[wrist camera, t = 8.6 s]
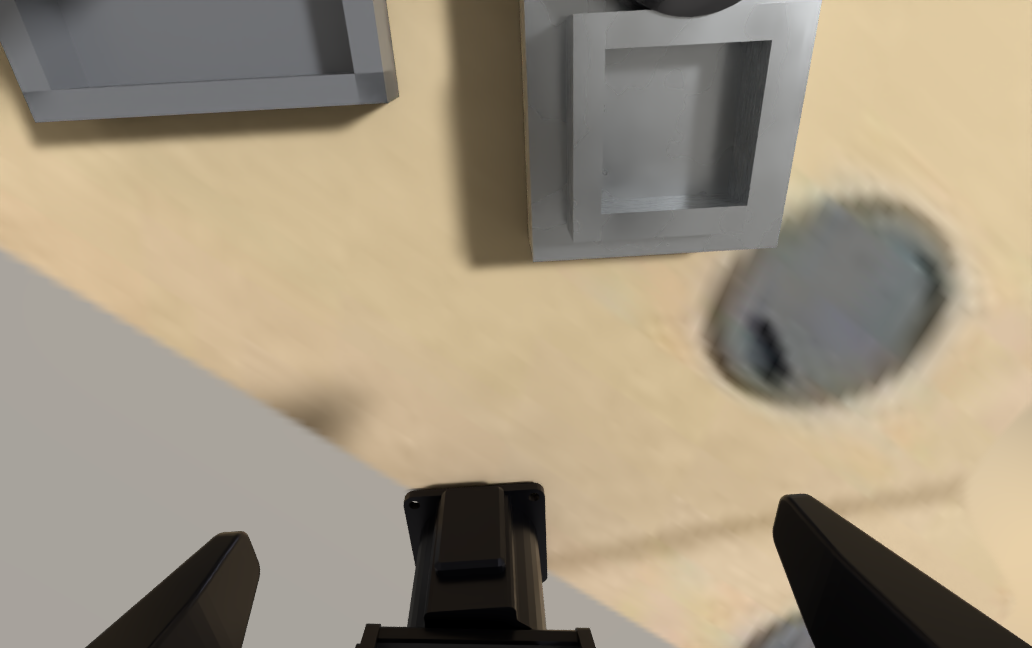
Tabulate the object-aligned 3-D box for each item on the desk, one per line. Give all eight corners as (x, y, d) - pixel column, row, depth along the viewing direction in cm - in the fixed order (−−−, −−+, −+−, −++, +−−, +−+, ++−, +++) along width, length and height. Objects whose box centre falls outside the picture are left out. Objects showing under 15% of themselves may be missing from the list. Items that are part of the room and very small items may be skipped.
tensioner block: (744, 224, 20) (812, 272, 16) (528, 237, 20) (538, 289, 16) (811, -213, 14) (942, -319, 10) (511, -198, 14) (519, -299, 10)
